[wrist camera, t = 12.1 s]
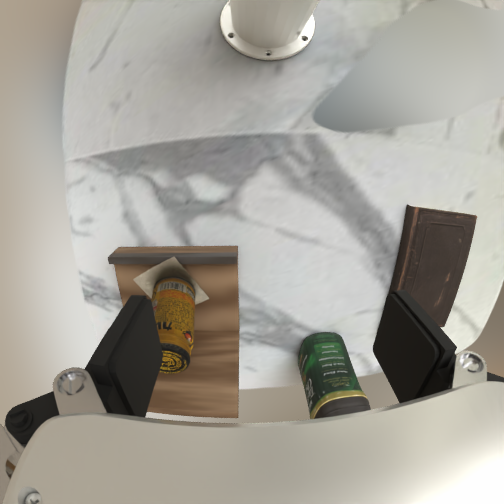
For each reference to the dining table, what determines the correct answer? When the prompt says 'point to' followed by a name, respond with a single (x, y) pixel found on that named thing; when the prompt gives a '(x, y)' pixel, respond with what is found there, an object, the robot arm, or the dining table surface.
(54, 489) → the robot arm
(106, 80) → the dining table surface
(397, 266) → the hardcover book
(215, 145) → the dining table surface
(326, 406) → the coffee jar
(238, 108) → the dining table surface
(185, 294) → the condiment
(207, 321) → the rack
